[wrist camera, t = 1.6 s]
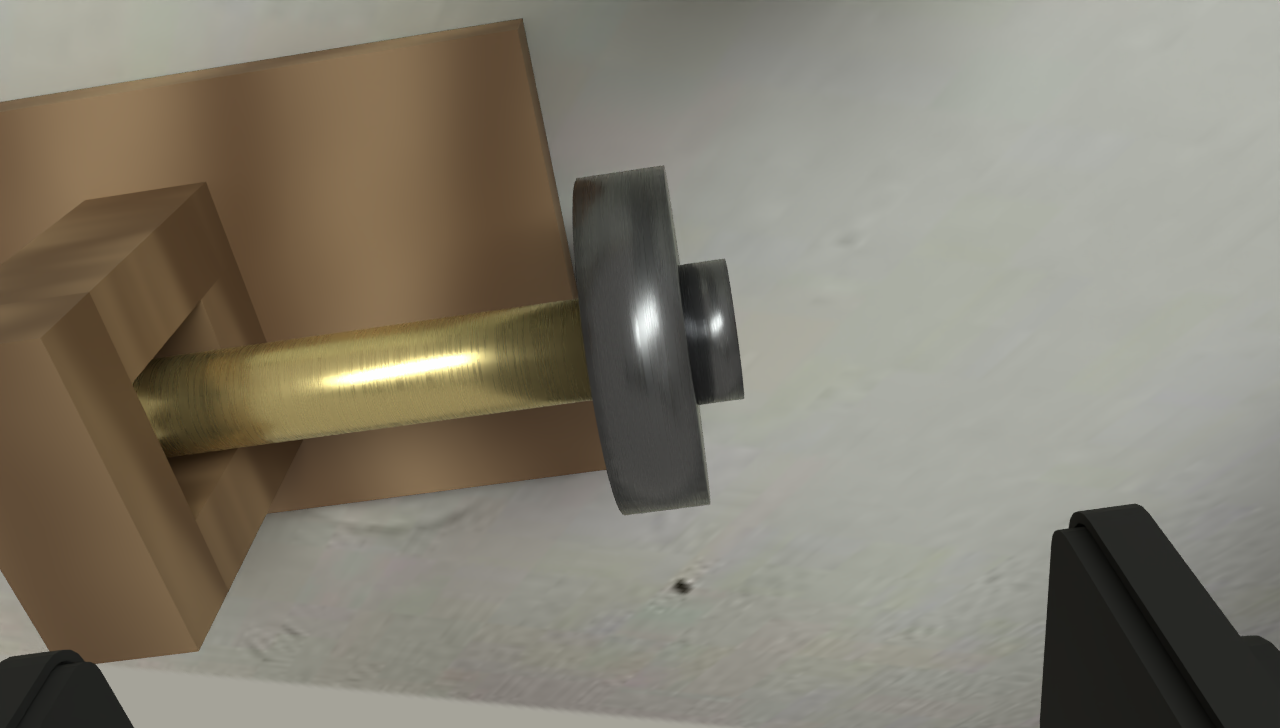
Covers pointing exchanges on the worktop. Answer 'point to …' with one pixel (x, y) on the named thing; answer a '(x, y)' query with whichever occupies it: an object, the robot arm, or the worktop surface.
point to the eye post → (252, 305)
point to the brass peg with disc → (503, 360)
